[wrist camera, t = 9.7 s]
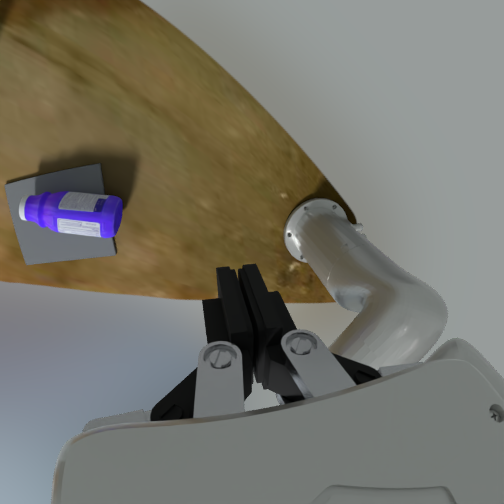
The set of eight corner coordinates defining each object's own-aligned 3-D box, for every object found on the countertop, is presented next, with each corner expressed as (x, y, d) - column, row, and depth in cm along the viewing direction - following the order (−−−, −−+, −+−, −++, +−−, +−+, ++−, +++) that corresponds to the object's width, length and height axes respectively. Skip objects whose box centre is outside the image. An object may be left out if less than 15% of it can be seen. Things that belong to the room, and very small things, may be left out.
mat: (100, 163, 39) (99, 163, 39) (116, 253, 47) (115, 255, 46) (6, 184, 36) (4, 185, 35) (27, 263, 43) (26, 265, 43)
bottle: (123, 223, 45) (33, 214, 39) (125, 190, 42) (32, 183, 37) (114, 245, 39) (16, 234, 33) (115, 209, 36) (11, 200, 31)
